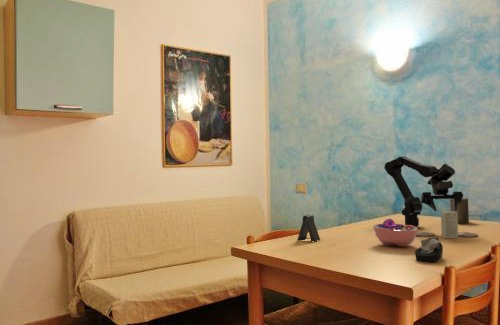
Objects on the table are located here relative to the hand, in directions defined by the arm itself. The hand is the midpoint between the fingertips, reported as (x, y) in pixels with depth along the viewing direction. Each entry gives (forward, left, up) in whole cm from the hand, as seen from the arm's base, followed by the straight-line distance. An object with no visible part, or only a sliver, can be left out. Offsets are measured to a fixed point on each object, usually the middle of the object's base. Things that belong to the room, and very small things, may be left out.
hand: (445, 210), depth 206 cm
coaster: (-10, -3, -12) cm, 16 cm away
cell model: (-17, -33, -12) cm, 39 cm away
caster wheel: (-1, -53, -12) cm, 55 cm away
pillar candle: (+3, +44, -12) cm, 46 cm away
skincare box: (+2, -5, -12) cm, 13 cm away
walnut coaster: (+8, +3, -12) cm, 14 cm away
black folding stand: (-56, -36, -12) cm, 68 cm away
